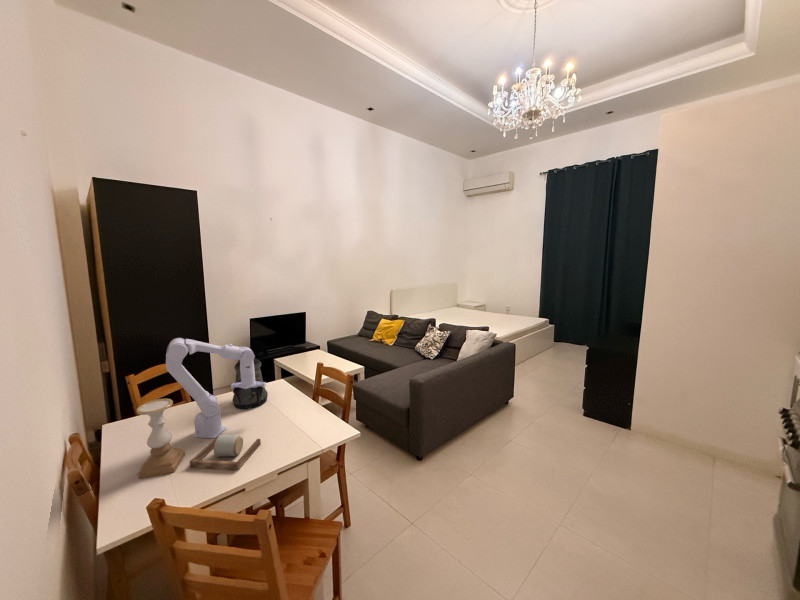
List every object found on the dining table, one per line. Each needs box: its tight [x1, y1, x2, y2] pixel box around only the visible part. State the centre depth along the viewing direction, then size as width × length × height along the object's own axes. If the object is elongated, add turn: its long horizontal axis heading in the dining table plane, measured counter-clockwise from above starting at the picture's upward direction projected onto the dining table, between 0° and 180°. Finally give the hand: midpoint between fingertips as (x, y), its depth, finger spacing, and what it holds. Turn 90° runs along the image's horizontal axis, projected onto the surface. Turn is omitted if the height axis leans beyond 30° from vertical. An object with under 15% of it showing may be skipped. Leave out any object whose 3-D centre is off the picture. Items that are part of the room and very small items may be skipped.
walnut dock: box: [189, 436, 262, 471], centre depth 119 cm, size 18×15×2 cm
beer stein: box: [231, 357, 269, 411], centre depth 160 cm, size 16×19×25 cm
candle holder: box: [136, 398, 186, 479], centre depth 112 cm, size 11×11×24 cm
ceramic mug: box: [213, 434, 244, 457], centre depth 121 cm, size 11×8×8 cm
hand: (250, 402), depth 141 cm, fingers open, 7 cm apart
